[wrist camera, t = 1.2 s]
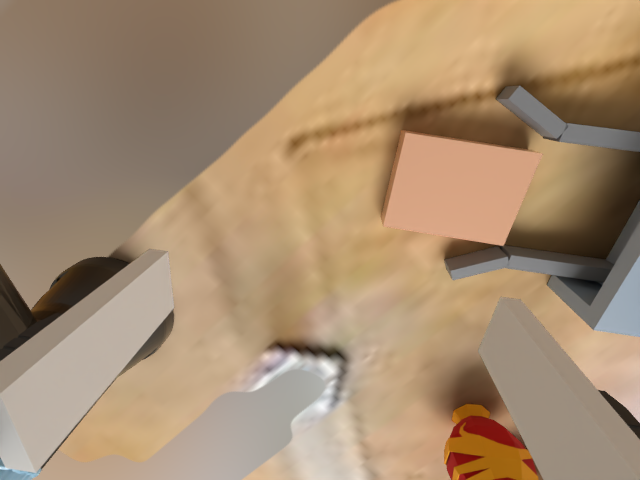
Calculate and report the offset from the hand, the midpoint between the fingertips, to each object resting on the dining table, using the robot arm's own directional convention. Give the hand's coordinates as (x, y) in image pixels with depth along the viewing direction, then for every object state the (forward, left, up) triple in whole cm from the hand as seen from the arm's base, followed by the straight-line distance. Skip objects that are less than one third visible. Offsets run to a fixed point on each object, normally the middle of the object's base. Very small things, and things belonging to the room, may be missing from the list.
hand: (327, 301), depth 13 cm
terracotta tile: (+11, +1, -22) cm, 25 cm away
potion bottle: (+23, -31, -22) cm, 44 cm away
